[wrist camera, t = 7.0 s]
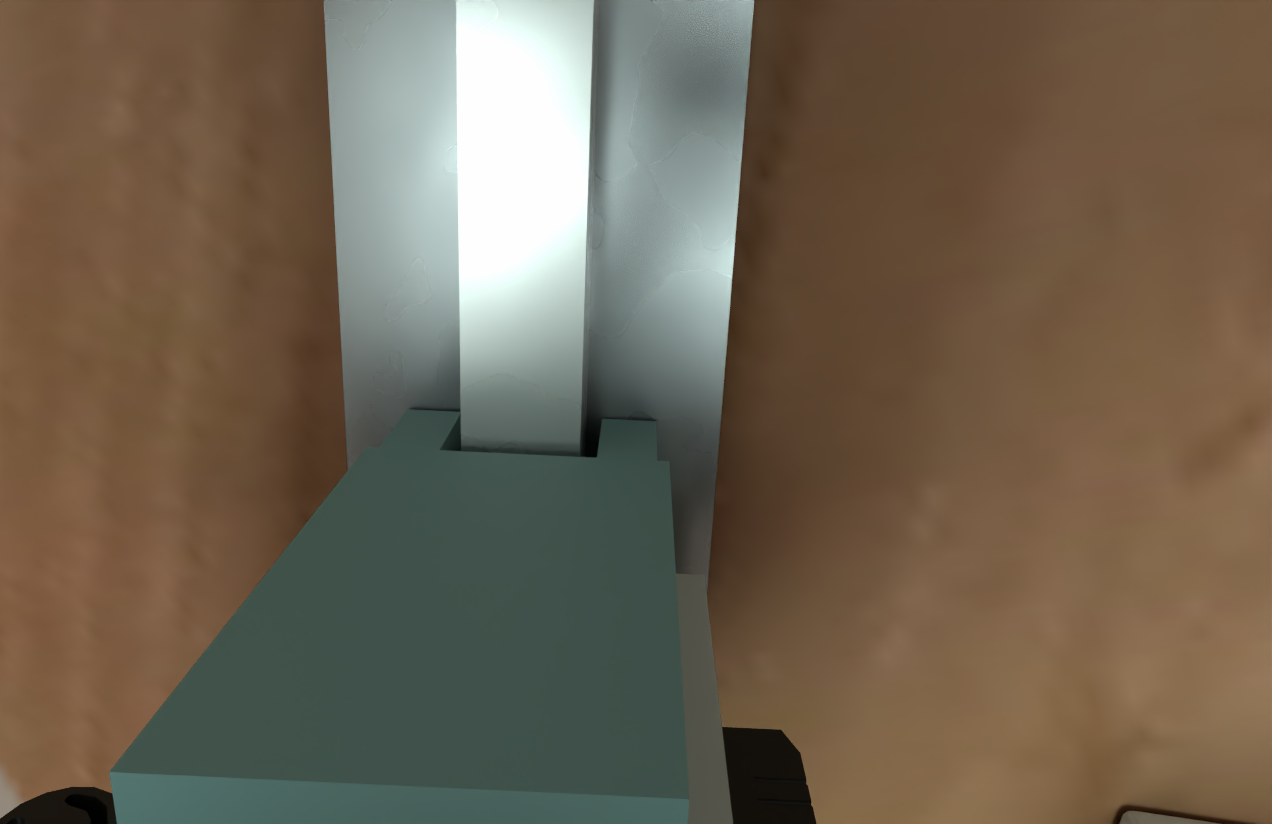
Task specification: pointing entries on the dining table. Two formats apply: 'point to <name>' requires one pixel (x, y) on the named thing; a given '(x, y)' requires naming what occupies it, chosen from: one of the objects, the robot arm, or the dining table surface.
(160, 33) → the dining table surface
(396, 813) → the carriage
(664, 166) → the rail
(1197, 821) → the supplement box
